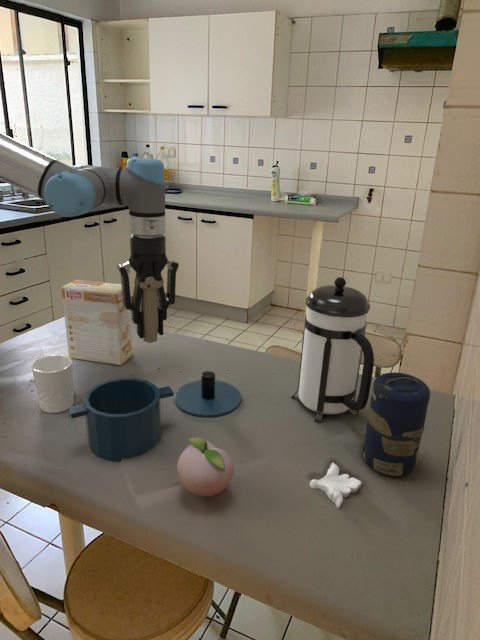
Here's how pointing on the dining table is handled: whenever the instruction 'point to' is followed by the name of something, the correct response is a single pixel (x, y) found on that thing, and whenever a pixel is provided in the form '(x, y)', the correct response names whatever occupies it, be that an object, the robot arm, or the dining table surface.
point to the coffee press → (335, 351)
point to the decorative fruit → (204, 468)
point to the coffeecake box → (97, 322)
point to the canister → (395, 423)
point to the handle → (150, 307)
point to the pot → (122, 417)
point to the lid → (207, 397)
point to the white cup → (54, 382)
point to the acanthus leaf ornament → (336, 485)
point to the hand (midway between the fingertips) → (150, 334)
